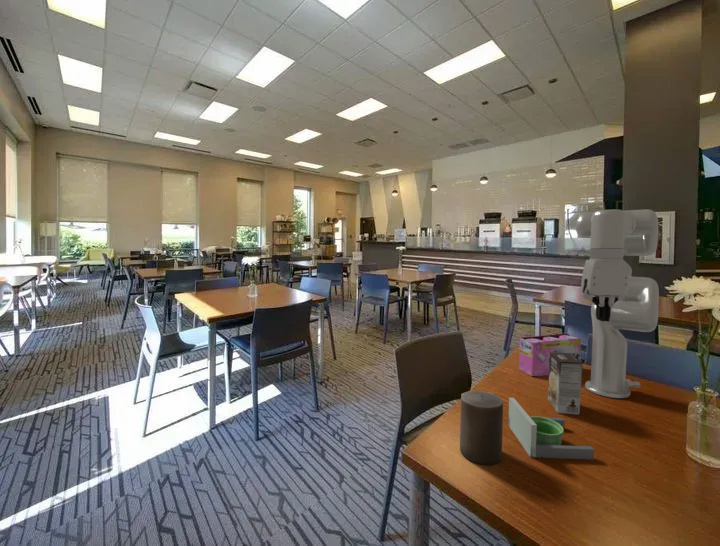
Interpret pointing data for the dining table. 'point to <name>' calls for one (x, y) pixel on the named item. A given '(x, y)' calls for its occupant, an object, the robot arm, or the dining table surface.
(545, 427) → the ramekin
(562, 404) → the coffee box
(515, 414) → the display stand
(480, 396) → the pillar candle
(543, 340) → the gum box
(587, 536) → the dining table surface
